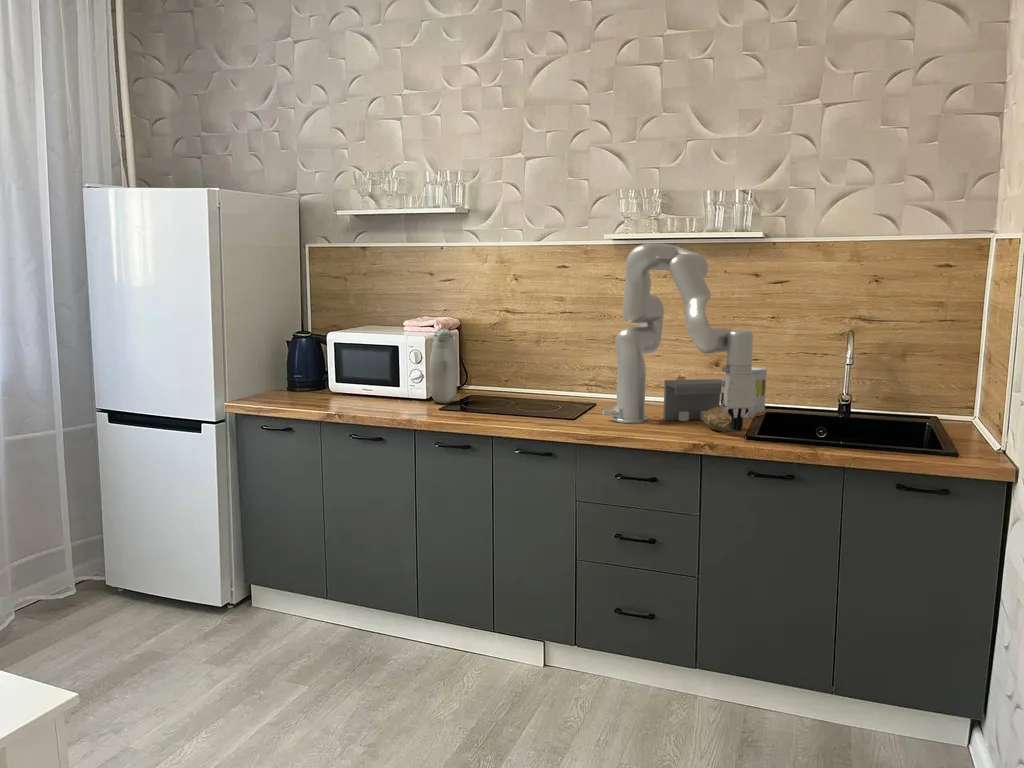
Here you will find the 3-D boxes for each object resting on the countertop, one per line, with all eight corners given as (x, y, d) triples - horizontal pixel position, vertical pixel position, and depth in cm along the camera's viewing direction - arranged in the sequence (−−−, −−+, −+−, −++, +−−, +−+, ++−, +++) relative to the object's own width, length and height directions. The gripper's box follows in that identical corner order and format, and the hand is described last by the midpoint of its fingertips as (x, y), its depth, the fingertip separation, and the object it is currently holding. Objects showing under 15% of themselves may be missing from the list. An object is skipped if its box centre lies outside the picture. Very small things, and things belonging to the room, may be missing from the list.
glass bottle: (426, 402, 319) (425, 328, 315) (451, 400, 323) (451, 327, 319) (435, 405, 310) (434, 330, 306) (461, 404, 314) (460, 329, 311)
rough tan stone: (704, 426, 280) (695, 424, 261) (710, 403, 280) (702, 400, 261) (744, 437, 276) (738, 435, 257) (750, 414, 276) (745, 410, 257)
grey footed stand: (675, 424, 277) (676, 384, 275) (663, 419, 286) (664, 380, 285) (730, 422, 281) (732, 382, 279) (717, 417, 291) (718, 378, 289)
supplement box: (747, 418, 289) (750, 370, 287) (726, 414, 296) (728, 367, 294) (765, 416, 295) (767, 368, 292) (744, 412, 302) (746, 365, 300)
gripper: (721, 372, 249) (719, 433, 252) (767, 371, 252) (765, 431, 255) (710, 369, 256) (708, 428, 259) (755, 368, 260) (752, 426, 262)
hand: (736, 429), depth 257 cm, fingers closed
